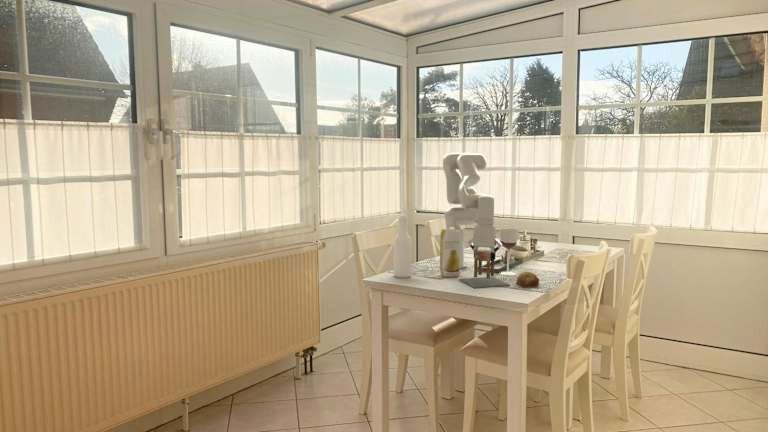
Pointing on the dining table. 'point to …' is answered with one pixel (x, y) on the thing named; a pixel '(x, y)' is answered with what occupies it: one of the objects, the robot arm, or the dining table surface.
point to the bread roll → (527, 280)
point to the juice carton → (450, 252)
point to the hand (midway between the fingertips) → (484, 259)
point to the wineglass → (508, 243)
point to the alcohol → (402, 250)
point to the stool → (481, 256)
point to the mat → (483, 282)
